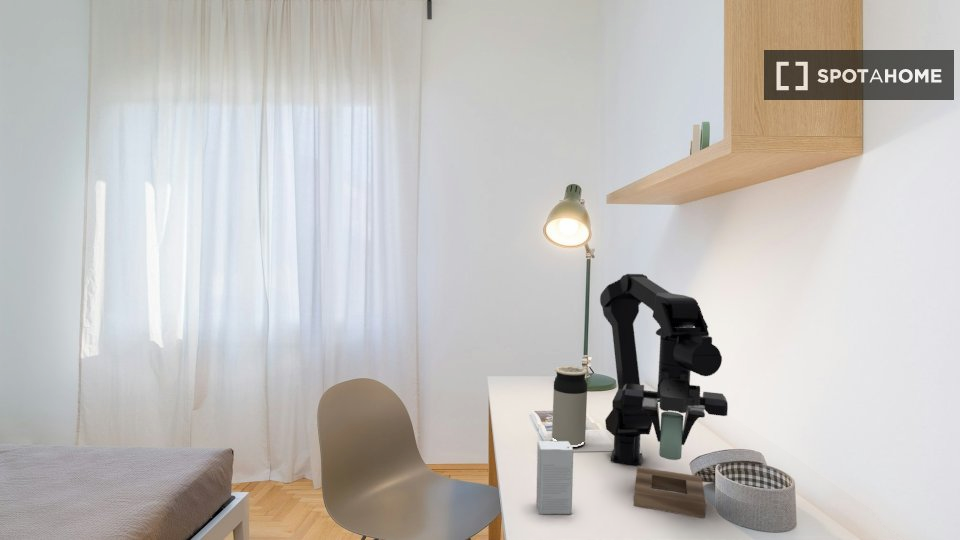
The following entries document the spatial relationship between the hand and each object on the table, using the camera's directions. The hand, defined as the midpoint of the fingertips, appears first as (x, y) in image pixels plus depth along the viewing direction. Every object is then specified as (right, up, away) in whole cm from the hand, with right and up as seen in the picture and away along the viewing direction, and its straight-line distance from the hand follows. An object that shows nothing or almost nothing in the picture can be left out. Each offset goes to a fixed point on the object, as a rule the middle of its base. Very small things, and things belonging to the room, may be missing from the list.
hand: (670, 442), depth 106 cm
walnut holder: (0, -11, +1) cm, 11 cm away
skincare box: (-23, -11, -5) cm, 26 cm away
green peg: (0, -3, 0) cm, 3 cm away
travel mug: (-15, -9, +28) cm, 33 cm away
